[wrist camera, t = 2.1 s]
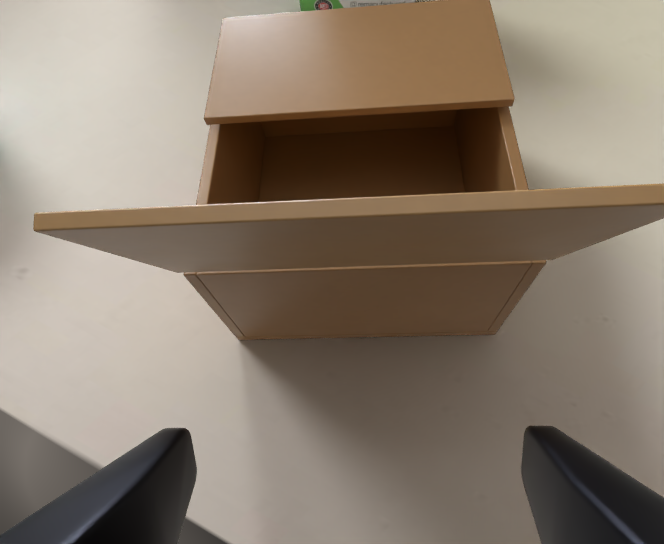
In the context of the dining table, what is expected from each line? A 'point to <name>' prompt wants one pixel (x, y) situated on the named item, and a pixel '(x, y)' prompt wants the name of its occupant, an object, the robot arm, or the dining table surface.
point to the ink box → (345, 3)
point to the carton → (362, 159)
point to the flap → (363, 229)
